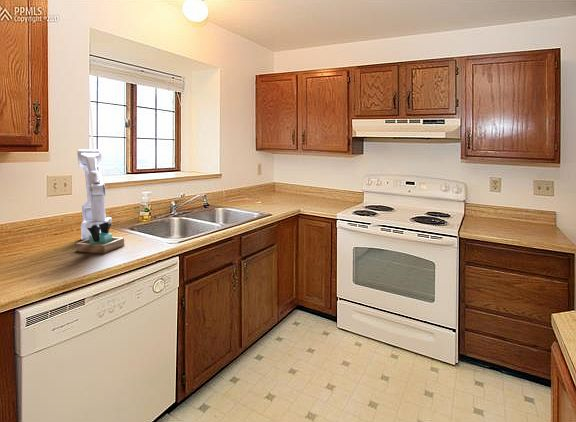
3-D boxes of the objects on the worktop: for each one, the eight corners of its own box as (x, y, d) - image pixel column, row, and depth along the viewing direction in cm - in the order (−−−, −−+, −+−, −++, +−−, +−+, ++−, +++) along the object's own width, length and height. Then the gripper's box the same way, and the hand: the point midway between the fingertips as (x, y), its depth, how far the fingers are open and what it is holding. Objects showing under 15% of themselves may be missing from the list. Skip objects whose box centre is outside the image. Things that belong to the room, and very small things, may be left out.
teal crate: (89, 244, 173) (88, 235, 172) (97, 241, 178) (96, 232, 177) (105, 246, 171) (104, 236, 170) (112, 243, 176) (111, 233, 175)
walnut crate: (76, 251, 169) (75, 243, 169) (98, 243, 183) (97, 235, 182) (104, 253, 166) (103, 245, 166) (124, 245, 180) (123, 237, 179)
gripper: (94, 213, 164) (97, 244, 166) (116, 208, 178) (118, 236, 180) (80, 213, 165) (83, 243, 168) (103, 207, 179) (105, 235, 182)
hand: (100, 240), depth 174 cm, fingers closed on teal crate, 5 cm apart
